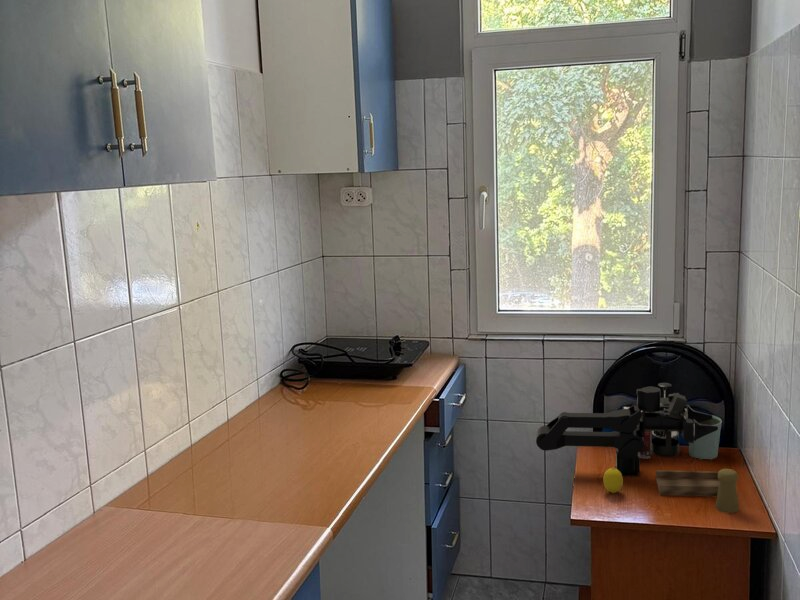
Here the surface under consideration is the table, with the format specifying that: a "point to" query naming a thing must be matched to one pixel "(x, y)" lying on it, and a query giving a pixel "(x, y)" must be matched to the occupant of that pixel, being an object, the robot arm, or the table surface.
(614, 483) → the lemon
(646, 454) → the supplement box
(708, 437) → the pale green plant pot
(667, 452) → the french press
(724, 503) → the olive pawn figure
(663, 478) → the track
